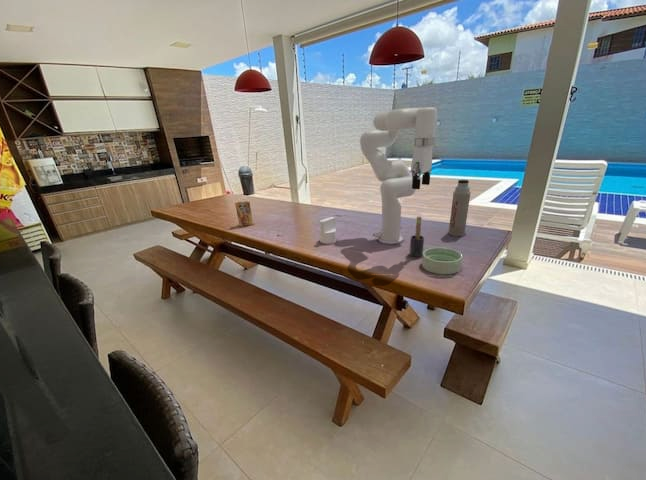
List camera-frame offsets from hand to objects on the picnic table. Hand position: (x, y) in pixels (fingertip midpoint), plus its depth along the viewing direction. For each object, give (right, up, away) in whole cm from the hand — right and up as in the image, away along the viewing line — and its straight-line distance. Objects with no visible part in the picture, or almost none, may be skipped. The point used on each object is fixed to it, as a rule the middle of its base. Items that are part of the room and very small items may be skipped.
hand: (420, 186), depth 128 cm
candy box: (-92, -6, +73) cm, 118 cm away
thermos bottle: (+30, -16, +36) cm, 50 cm away
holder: (+2, -28, +13) cm, 32 cm away
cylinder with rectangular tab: (-39, -20, +37) cm, 57 cm away
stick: (+2, -28, +13) cm, 31 cm away
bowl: (+9, -34, +1) cm, 35 cm away
